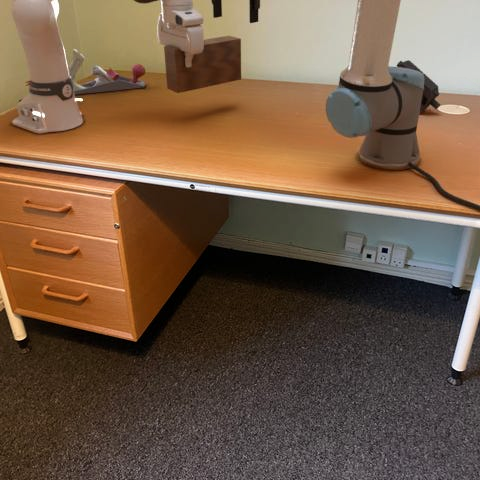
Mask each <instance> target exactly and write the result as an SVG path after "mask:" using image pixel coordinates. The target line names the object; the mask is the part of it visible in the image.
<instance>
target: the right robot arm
mask: <svg viewBox="0 0 480 480" xmlns="http://www.w3.org/2000/svg"><path fill="white" fill-rule="evenodd" d="M401 2H402V0H357V5H356V11H355V19H354V26H353V33H352V39H351V44H350V51H349V52H350V53H349V59H348V65H347V67H346V68H345V69H343V70H342V71H340V74H339V80H338V87H337V88H334V89H333V90H332V91H331V93H329V95H328V96H327V98H326V101H325V113H326V117H327V120H328V122H329V123H330V125H331V128H332V129H333V130H334V131H335V132H336V133H337V134H339V135H341V136H342V137H345V138H348V139H355V138H359V137H364V136H365V137H364V138H363V141H362V143H361V145H360V147H359V151H358V159H359V160H360V162H362V163H363V164H364V165H367V166H369V167H372V168H374V169H378V170H385V171H403V170H408V169H412V170H414V171H416V172H417V173H419V174H420V175H421V176H424V177H425V178H427V179H428V180H429V181H430V182H432V183H433V185H434V187H435V188H436V190H437V191H438V192H439V193H440V194H442V195H443V196H444V197H446V198H448V199H450V200H452V201H453V202H457V203H459V204H462V205H464V206H467V207H470V208H473V209H475V210H478V211H480V204H478V203H474V202H472V201H469V200H466V199H463V198H461V197H459V196H456V195H454V194H452V193H450V192H448V191H446V190H445V189H444V188H443V187H442V186H441V185H440V182H438V180H437V179H436V178H435V177H434V176H432V175H431V174H429V173H428V172H427V171H425V170H423V169H422V168H420V167H419V166H418V164H419V163H420V158H421V153H420V151H421V150H420V146H419V140H418V135H417V130H418V124H419V119H420V114H421V113H420V107H421V101H422V95H423V90H424V79H425V78H424V75H423V74H424V73H423V74H422V73H421V72H419V71H416V70H413V69H408V68H402V67H397V66H390V65H389V64H390V59H391V54H392V49H393V43H394V37H395V33H396V27H397V22H398V17H399V12H400V7H401ZM222 3H223V2H222V0H211V5H212V13H213V15H212V16H213V17H212V18H214V19H216V18H222V17H223V4H222ZM248 5H249V6H248V7H249V24H255V23H258V22H259V10H260V8H261V0H249V3H248Z"/></svg>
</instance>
